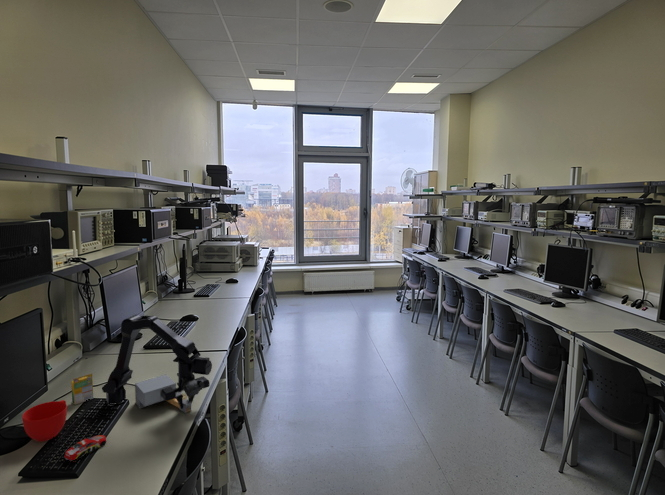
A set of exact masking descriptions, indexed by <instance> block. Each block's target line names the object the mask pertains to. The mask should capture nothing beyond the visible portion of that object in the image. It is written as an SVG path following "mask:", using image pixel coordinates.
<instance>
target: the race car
mask: <svg viewBox="0 0 665 495" xmlns="http://www.w3.org/2000/svg"><path fill="white" fill-rule="evenodd" d="M106 444H107V438H106V436H105V435H104V434H103V435H102V434H100V435H99V434H98V435H94V436H92V437H90V438H87V437H86V438H84V439H81V441H78V442H77V443H75V444H74V445H72V446H71V447H69V449H67V450H66V451H65V453H64V455H63V457H64V460H66V461H67V460H69V461H70V462H71V461H72V460H75V459H77V458H79V457H81V456H82V455H83V454H86V453H88V452H89V454H91V453H92V452H94V451H96V450H97V449H99V448H101V447H104V446H105V445H106ZM77 460H78V459H77ZM69 461H68V462H69Z"/></svg>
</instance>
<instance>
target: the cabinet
mask: <svg viewBox="0 0 665 495" xmlns="http://www.w3.org/2000/svg"><path fill="white" fill-rule="evenodd" d="M167 387H172V388H173V389H175V388H177V383H176V382H175V381H174V380H173V379H172V378H170V376H168V375H167V374H163V375H159V376H155V377H152V378H149V379H144V380H142V381H138V382H135V384H134V391H135V392H134V394H135V398H134V399H135V404H136V405H137V407H138V409H142V408H145V407H147V406H148V407H149V406H151V405H153V404H154V405H155V404H158V403H160V402H163V401H165V400H164V399H163V398H162V397H161V396H160V392H161V390H162V389H164V388H167Z"/></svg>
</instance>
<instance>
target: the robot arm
mask: <svg viewBox="0 0 665 495" xmlns="http://www.w3.org/2000/svg"><path fill="white" fill-rule="evenodd" d="M147 328H148V329H150V330H151V331H152V332H154V333H155V334H156V335H157V336H158V337H159V338H161V339H162V340H163V341H164V342H165V343H167V344H168V345H169V346H170V347H171V351H172V353H173V354H174V355H175V356H176V357H175V358H174V359H173V360H172V361H173V362H174V363H178V364H177V366H178V367H177V368H178V370H177V371H178V373H176V376H177V377H178V379H177V380H178V382H177V383H176V386H178V387H176V388H175V389H173V388H172V387H167V388H164V389H162V390H161V392H160V396H161V397H162V398H163V399H164V400H163V401H166V402H167V401H168V400H171V399H174V398H175V399H177V401H178V403H179V406H180V408H181V409H183V401H182V398H183V395H182V394H183V393H182V392H184V394H185V395H186V397H187V398H188V399H187V400H189V401H190V402H192V403H193V402H194V398H195V396H196V395H198V394H199V393H200V391H201V390H203V389H206V388H209V387H210V380H209V379H207V378H206V377H205V376H209V375H210V373H211V371H212V368H213V363H212V361H211V360H210V357H202V356H201V352H200V351H199V350H198V349H197V347H196V343H195V342H194V341H193V340H190V339H189V338H187V337H184V336H180V335H178V333H176V332H175V331H174V330H173V329H171V328H170V327H169V326H168V325H166V324H165V323H164V322H162V321H161V320H160V319H159V317H158V316H157V315H140V314H133V315H132V316H129V317H128V318H125V319H123V320H122V321H121V324H120V333H121V335H122V339H121V344H120V347H119V351H118V356H117V361H116V362H115V367H114V369H113V370H112V371H111V372H110V374H109V375H108V378H107V382H106V383H105V384H104V385H103V386H102V387H101V390H102V393H105V394H106V395H105V397H106V398H105V400H106V401H107V403H108V404H110V403H117V402H120V401H122V400H126V398H127V397H126V396H127V395H126V392H127V391H126V388H125V386H126V385H127V383H128V382H129V381H130V379H132V377H133V376H132V374H133V372H134V370H133V369H131V368H130V362H131V357H132V354H133V349H134V346H135V343H136V338H137V336H138V334H139V333H140V332H141V330H142V329H147ZM173 362H172V363H173ZM195 374H196V375H203V376H200V377H196V376H195ZM107 403H106V404H107ZM108 404H107V405H108Z"/></svg>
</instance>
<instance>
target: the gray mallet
mask: <svg viewBox="0 0 665 495" xmlns="http://www.w3.org/2000/svg"><path fill="white" fill-rule="evenodd" d="M182 401H183V409H181V408H180V406H179V403H178V401H177V399H175V398H174V399H171V400H168V401H166V402H168V403H169V404H171V405H172V406H175V407H176V408H178V409H179V411H181V412H182V413H185V414H187V413H188V412H191V411H192V403H193V401H192V402H190V401H189V400H188V399H187V398H186V399H184V400H182Z"/></svg>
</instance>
